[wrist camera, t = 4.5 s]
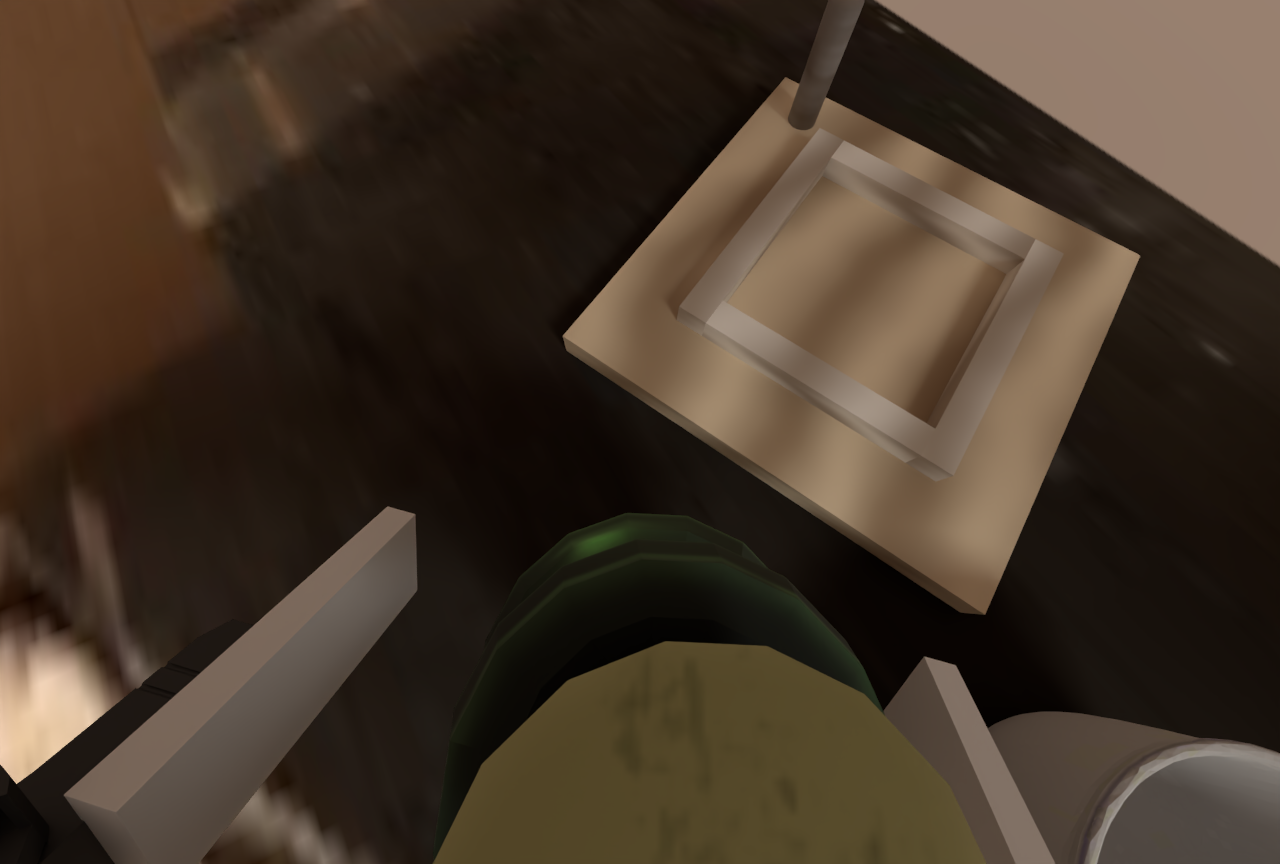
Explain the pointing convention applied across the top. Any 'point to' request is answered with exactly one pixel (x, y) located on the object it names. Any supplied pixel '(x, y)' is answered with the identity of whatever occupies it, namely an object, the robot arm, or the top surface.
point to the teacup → (1142, 791)
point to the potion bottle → (679, 720)
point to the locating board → (865, 329)
